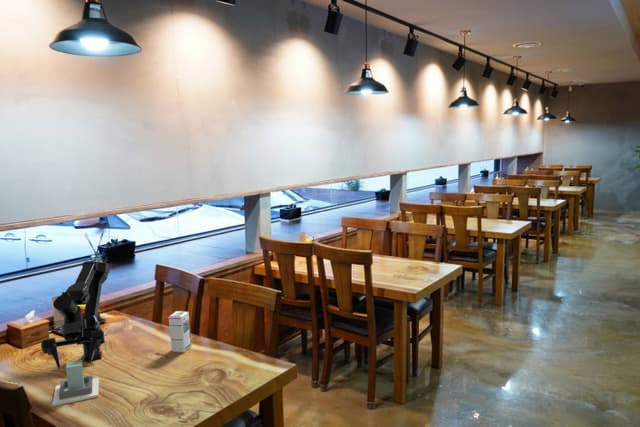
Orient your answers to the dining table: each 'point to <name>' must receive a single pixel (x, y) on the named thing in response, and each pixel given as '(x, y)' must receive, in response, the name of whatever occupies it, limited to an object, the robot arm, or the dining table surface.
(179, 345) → the syrup box
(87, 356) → the robot arm
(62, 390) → the white grey square base
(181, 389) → the dining table surface
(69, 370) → the teal green block
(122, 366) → the dining table surface
